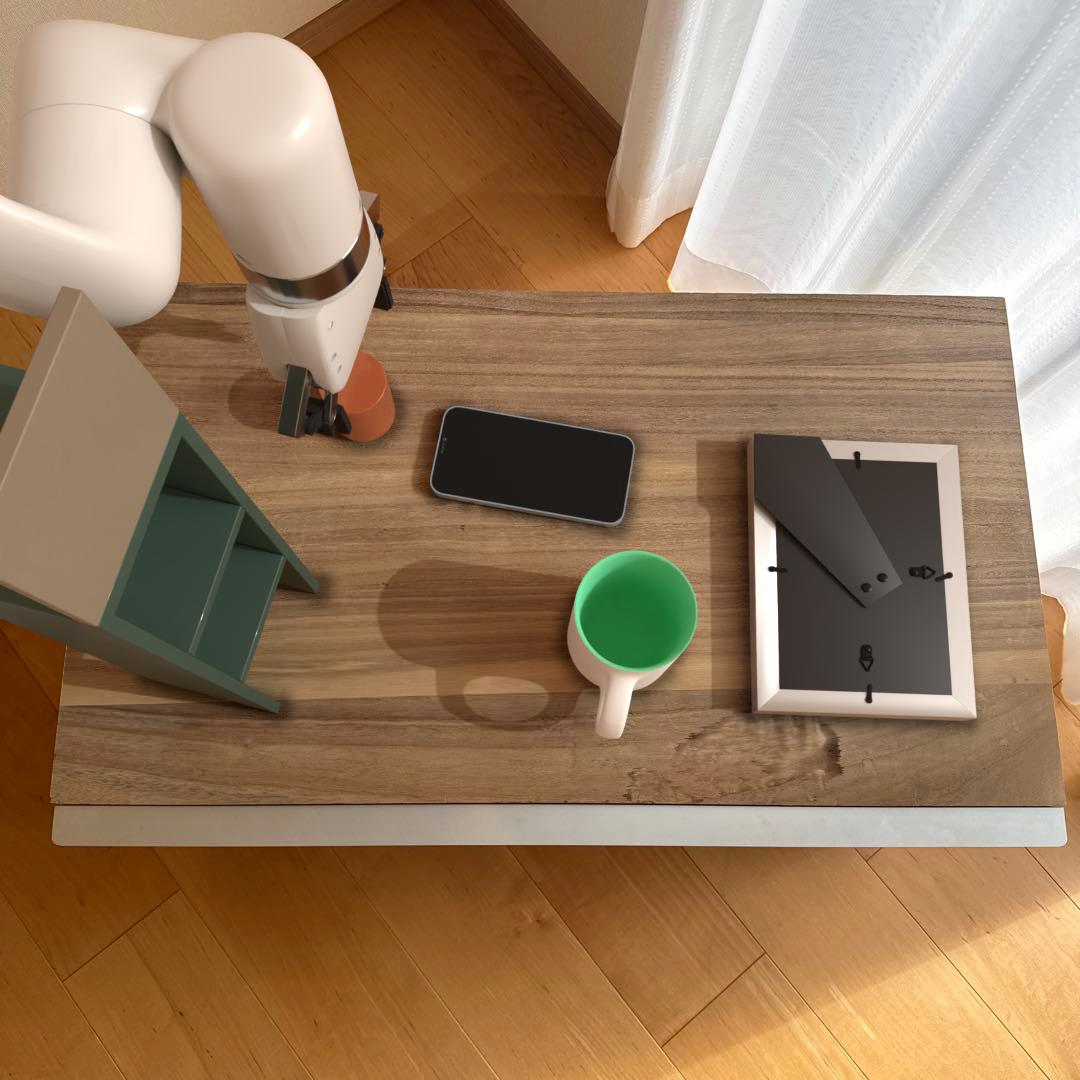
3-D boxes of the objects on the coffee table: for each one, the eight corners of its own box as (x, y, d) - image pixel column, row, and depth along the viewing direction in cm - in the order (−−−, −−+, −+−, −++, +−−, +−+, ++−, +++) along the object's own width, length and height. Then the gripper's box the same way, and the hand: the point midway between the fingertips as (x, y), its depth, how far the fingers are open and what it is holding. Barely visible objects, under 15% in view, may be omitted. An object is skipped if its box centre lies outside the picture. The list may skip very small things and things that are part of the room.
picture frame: (746, 446, 85) (751, 713, 80) (754, 433, 82) (759, 709, 77) (947, 453, 85) (965, 721, 80) (961, 441, 82) (981, 717, 77)
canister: (322, 433, 85) (308, 404, 79) (342, 375, 86) (329, 342, 80) (384, 449, 84) (374, 421, 79) (403, 391, 86) (394, 359, 80)
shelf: (147, 678, 79) (-324, 486, 35) (193, 550, 82) (-191, 219, 38) (277, 713, 79) (-31, 565, 35) (320, 584, 82) (83, 289, 37)
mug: (662, 753, 79) (683, 742, 69) (552, 737, 79) (557, 723, 69) (680, 592, 82) (703, 559, 72) (575, 577, 82) (582, 542, 72)
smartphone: (622, 527, 82) (427, 492, 82) (621, 530, 83) (427, 496, 83) (637, 436, 84) (446, 402, 84) (635, 440, 85) (446, 407, 85)
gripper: (284, 88, 62) (337, 244, 79) (181, 358, 58) (260, 463, 74) (410, 118, 62) (437, 268, 78) (316, 393, 57) (365, 490, 74)
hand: (351, 363), depth 76 cm, fingers open, 9 cm apart
